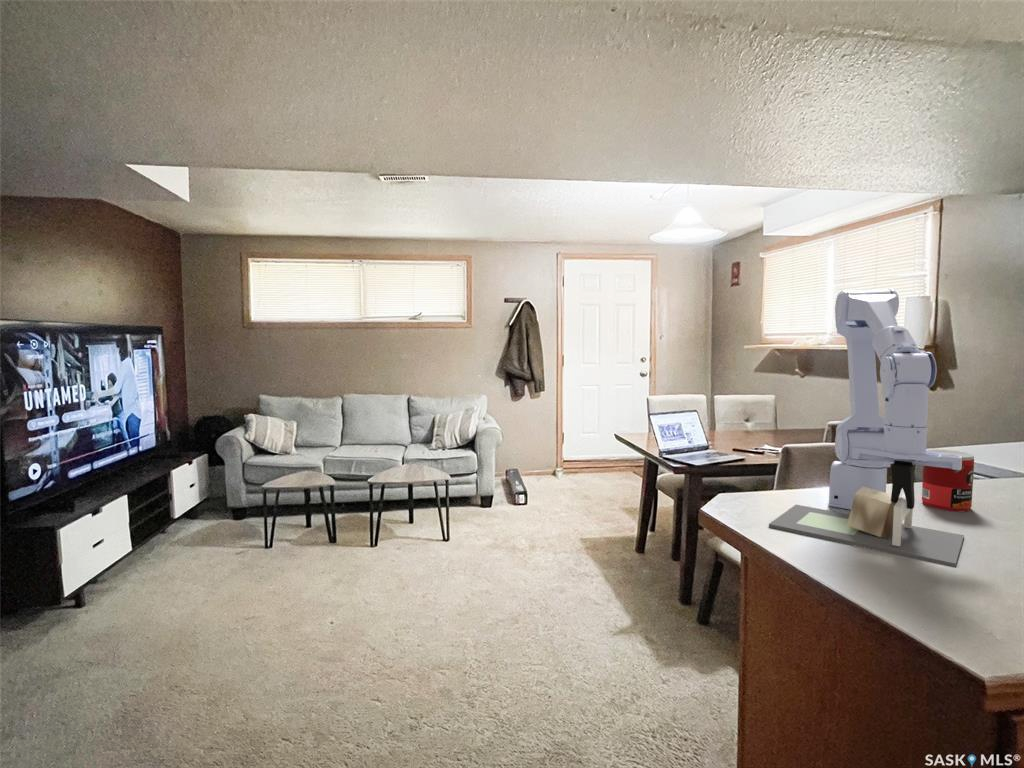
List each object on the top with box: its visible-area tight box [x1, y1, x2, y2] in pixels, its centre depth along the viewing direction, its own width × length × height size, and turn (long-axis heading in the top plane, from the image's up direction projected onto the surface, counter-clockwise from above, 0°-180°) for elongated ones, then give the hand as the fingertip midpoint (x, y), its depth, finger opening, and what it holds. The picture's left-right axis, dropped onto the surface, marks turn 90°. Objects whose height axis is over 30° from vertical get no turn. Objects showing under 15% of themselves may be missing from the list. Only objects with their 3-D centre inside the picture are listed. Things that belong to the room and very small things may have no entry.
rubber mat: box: [768, 504, 965, 568], centre depth 93 cm, size 26×16×1 cm, turn 46°
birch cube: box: [847, 486, 901, 539], centre depth 91 cm, size 6×6×6 cm
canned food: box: [921, 449, 975, 512], centre depth 107 cm, size 8×8×11 cm
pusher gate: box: [892, 493, 914, 546], centre depth 89 cm, size 1×13×6 cm, turn 137°
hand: (902, 506), depth 89 cm, fingers closed
